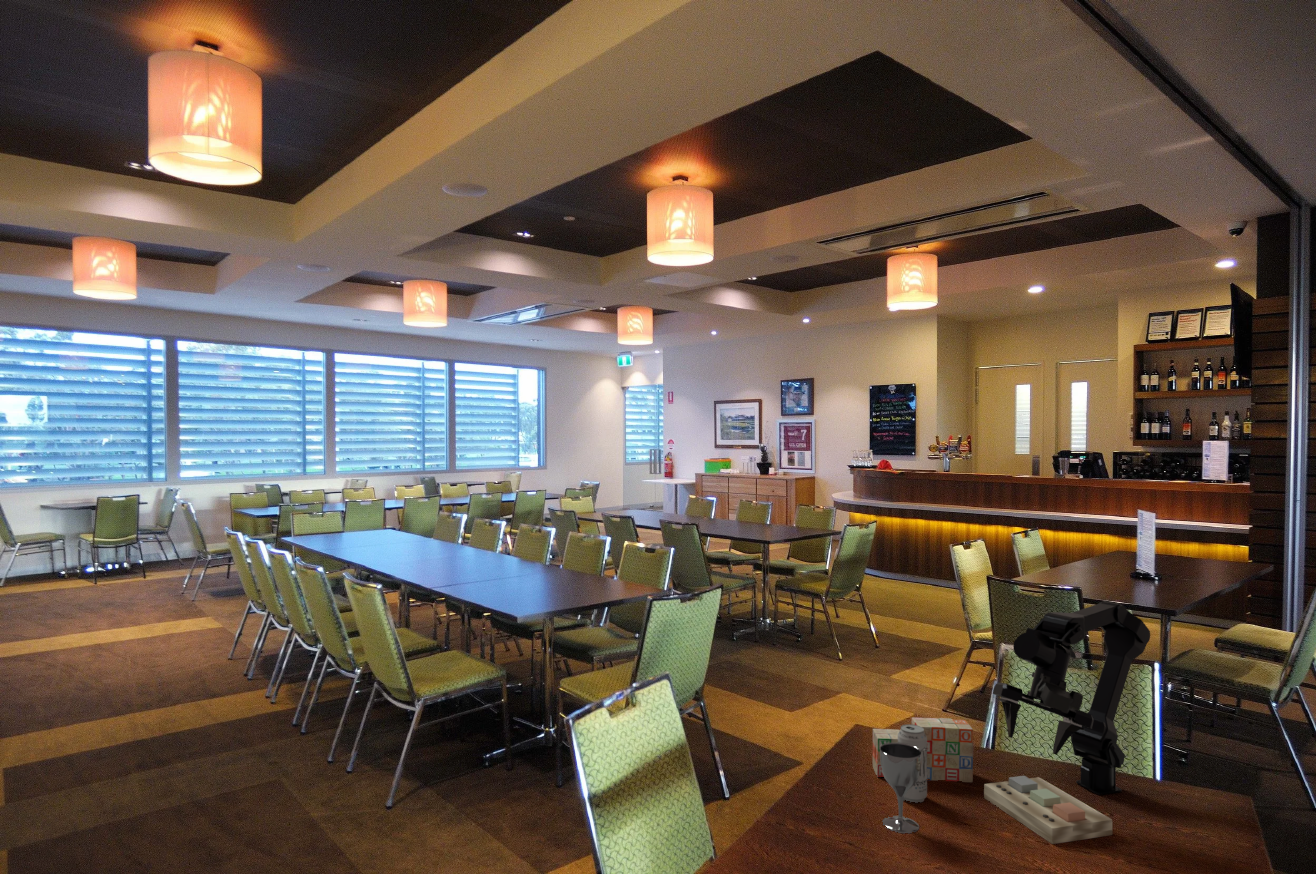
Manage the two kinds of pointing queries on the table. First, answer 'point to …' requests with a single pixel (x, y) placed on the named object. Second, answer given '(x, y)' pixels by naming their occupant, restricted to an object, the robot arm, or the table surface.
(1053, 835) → the key panel
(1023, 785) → the three-dot key
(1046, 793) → the one-dot key
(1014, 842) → the table surface
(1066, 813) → the two-dot key
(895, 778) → the wine glass
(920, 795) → the energy drink can
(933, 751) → the stack of blocks
